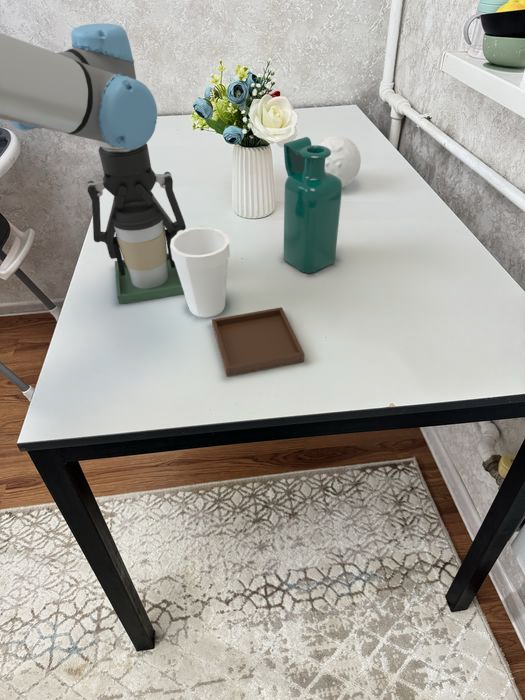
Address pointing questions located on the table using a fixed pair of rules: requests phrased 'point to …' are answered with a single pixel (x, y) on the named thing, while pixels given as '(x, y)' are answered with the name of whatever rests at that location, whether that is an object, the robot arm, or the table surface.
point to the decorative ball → (342, 158)
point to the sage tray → (134, 294)
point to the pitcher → (310, 207)
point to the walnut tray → (256, 341)
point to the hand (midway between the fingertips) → (147, 267)
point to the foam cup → (202, 268)
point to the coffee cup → (142, 244)
